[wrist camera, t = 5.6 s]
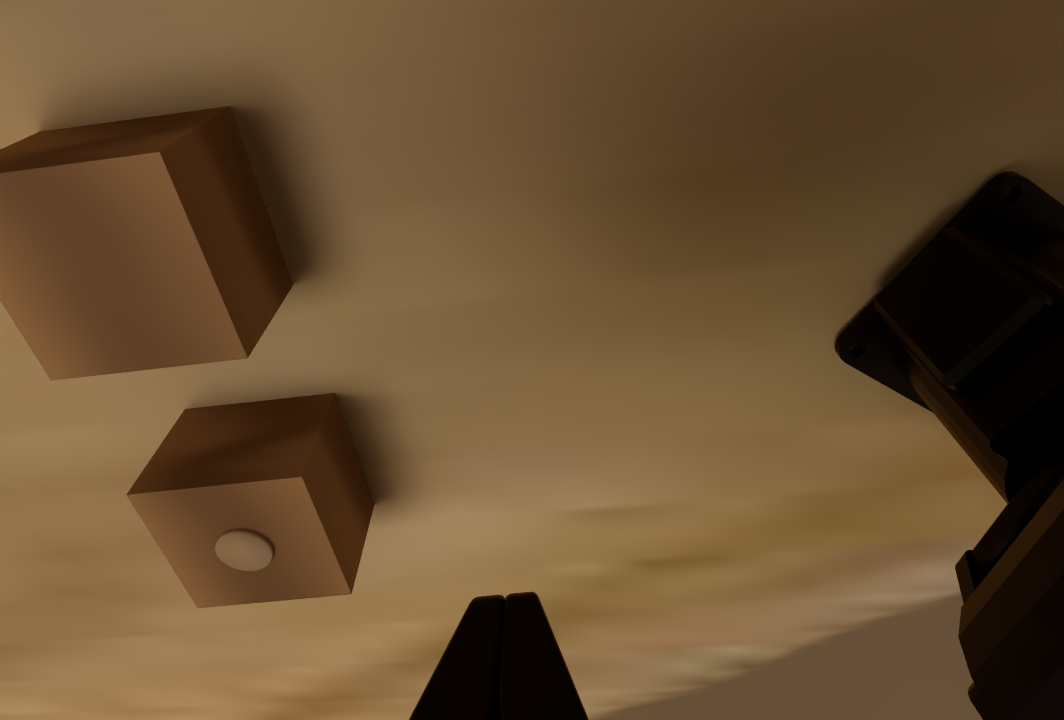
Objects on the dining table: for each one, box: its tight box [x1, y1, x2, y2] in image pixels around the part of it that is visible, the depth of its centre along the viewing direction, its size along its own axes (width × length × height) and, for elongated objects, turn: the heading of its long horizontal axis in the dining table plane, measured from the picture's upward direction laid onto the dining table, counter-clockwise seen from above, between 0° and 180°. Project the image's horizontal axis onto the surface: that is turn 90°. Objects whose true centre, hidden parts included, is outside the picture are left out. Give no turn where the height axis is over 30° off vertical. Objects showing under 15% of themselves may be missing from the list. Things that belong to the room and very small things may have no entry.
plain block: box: [0, 106, 293, 380], centre depth 17 cm, size 5×5×4 cm
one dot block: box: [127, 393, 374, 608], centre depth 22 cm, size 5×5×4 cm
